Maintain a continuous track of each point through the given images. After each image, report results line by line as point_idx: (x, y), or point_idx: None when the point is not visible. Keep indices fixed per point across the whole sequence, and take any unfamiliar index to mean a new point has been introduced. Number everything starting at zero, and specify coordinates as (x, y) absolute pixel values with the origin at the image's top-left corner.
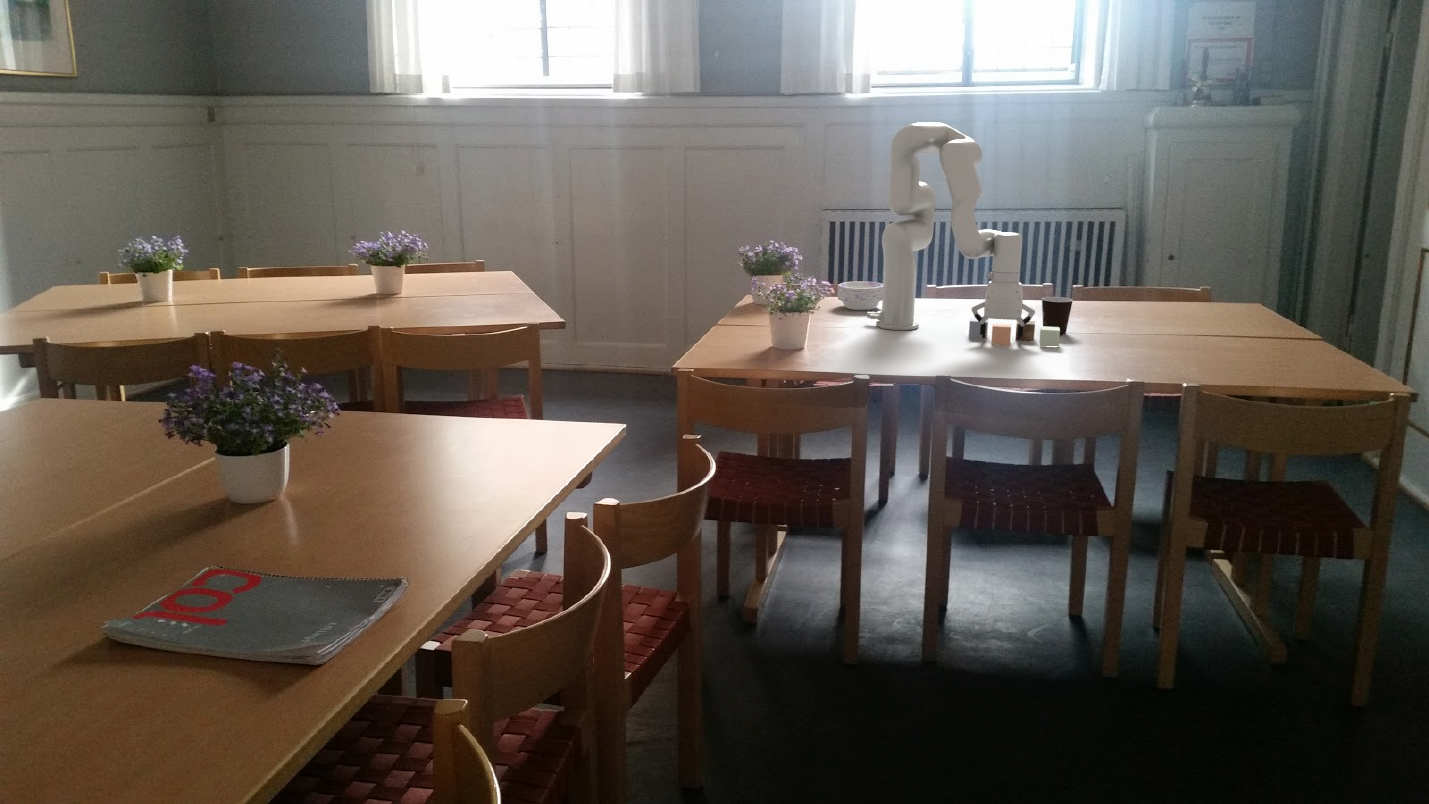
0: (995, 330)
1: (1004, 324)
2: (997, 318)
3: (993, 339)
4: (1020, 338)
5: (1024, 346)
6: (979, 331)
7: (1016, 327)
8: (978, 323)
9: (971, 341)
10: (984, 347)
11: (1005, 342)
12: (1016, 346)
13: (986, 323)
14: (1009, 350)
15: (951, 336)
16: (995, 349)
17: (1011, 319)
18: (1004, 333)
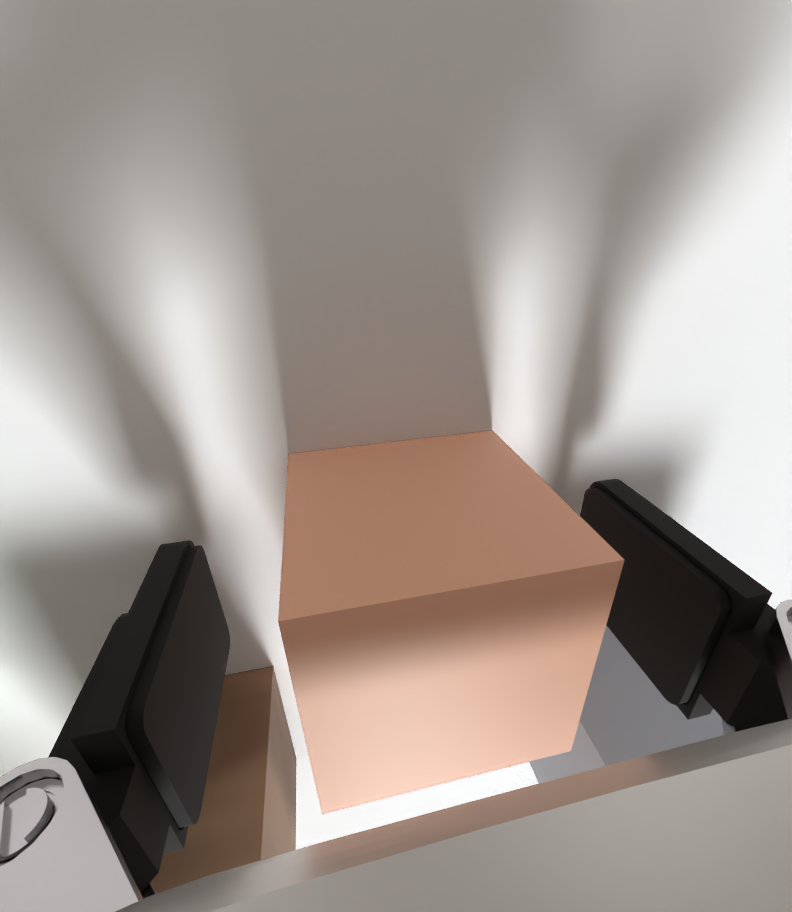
0: (537, 530)
1: (419, 781)
2: (697, 752)
3: (494, 458)
4: (222, 696)
5: (93, 460)
6: (616, 659)
7: (262, 817)
8: (691, 735)
9: (661, 479)
10: (586, 202)
11: (342, 461)
12: (193, 422)
13: (616, 761)
14: (219, 63)
15: (760, 583)
16: (447, 86)
17: (269, 860)
18: (381, 528)
